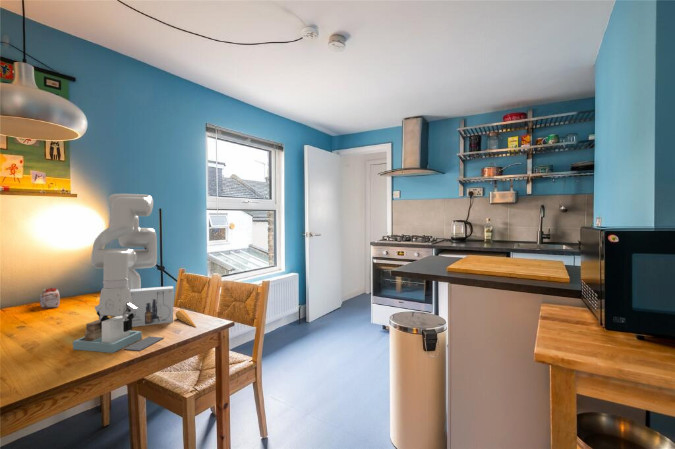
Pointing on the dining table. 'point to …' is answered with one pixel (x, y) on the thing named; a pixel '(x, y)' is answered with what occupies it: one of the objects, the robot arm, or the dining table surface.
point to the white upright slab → (113, 330)
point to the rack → (106, 347)
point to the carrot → (184, 317)
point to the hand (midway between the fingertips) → (116, 329)
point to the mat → (143, 343)
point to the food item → (50, 298)
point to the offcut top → (93, 325)
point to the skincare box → (152, 305)
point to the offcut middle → (93, 334)
